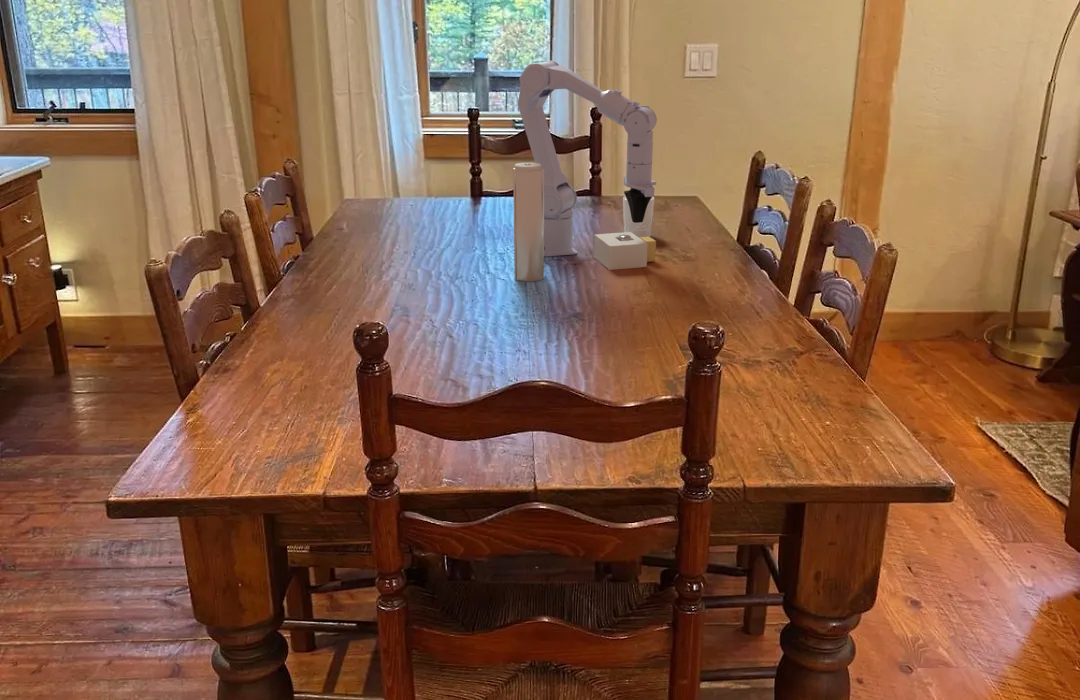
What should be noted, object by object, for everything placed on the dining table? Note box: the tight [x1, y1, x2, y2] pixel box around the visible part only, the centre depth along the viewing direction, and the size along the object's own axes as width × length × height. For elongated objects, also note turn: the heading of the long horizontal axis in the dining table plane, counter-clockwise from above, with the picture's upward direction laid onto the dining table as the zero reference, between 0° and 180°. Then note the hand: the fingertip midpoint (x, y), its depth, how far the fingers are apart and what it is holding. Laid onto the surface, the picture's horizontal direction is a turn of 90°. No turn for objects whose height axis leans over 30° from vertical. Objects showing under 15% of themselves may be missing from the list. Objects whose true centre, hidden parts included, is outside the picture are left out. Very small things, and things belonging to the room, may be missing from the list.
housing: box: [593, 231, 648, 271], centre depth 217 cm, size 9×11×6 cm
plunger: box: [619, 235, 631, 241], centre depth 217 cm, size 3×3×2 cm
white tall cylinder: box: [512, 161, 545, 283], centre depth 202 cm, size 6×6×25 cm
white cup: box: [622, 195, 655, 237], centre depth 239 cm, size 8×8×10 cm
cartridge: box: [639, 236, 657, 263], centre depth 218 cm, size 10×4×5 cm, turn 105°
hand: (637, 221), depth 216 cm, fingers closed
